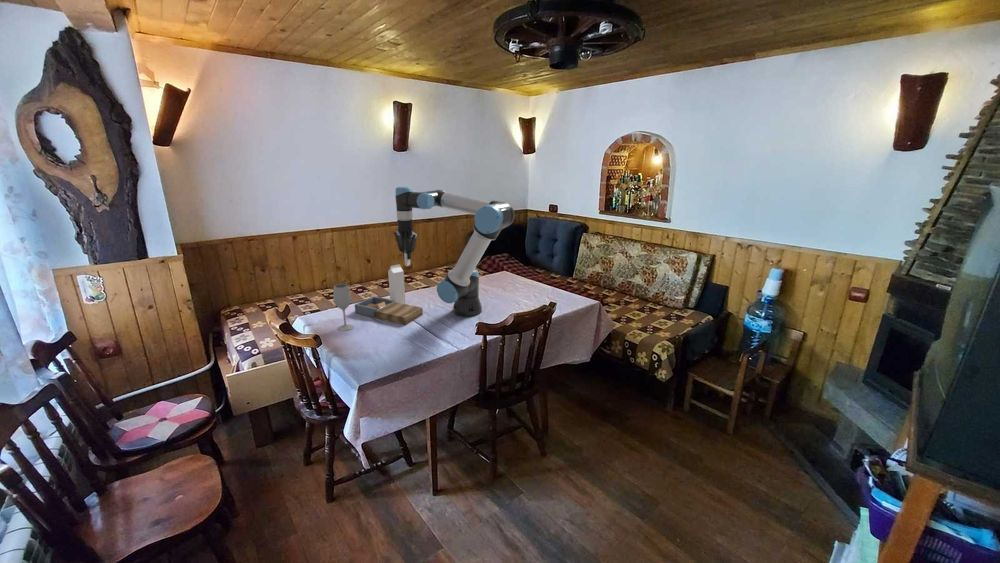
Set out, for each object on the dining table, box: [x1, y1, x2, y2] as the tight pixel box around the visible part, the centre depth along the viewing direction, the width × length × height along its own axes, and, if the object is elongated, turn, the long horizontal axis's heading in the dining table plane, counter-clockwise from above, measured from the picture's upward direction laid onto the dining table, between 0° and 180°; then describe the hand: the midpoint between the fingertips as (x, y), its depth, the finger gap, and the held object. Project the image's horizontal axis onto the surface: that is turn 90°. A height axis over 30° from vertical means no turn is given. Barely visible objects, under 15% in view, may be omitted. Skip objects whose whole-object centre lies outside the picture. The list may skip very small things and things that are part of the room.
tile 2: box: [372, 302, 386, 309], centre depth 202 cm, size 5×5×2 cm
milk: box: [387, 264, 406, 304], centre depth 212 cm, size 6×6×22 cm
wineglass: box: [332, 283, 355, 332], centre depth 182 cm, size 8×8×21 cm
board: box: [375, 302, 424, 326], centre depth 198 cm, size 18×14×4 cm
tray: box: [354, 295, 393, 319], centre depth 204 cm, size 13×14×5 cm
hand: (407, 265), depth 200 cm, fingers closed
